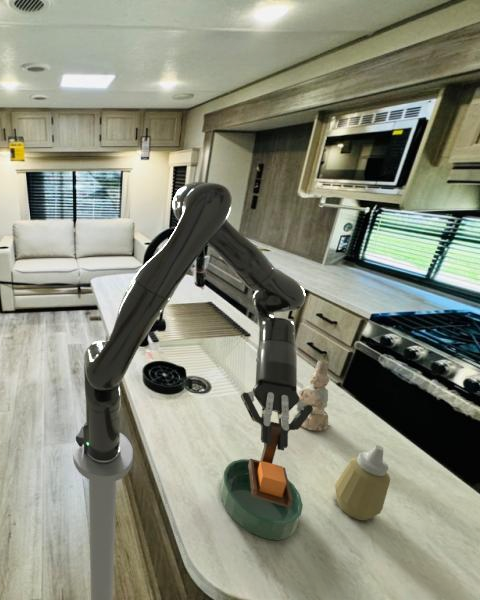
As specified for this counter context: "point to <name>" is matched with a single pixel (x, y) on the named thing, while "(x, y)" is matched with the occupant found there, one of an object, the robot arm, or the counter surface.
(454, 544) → the counter surface
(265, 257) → the robot arm
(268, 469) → the block
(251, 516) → the green pet bowl
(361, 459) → the squeeze bottle
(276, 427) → the scoop
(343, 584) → the counter surface
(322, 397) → the figurine
